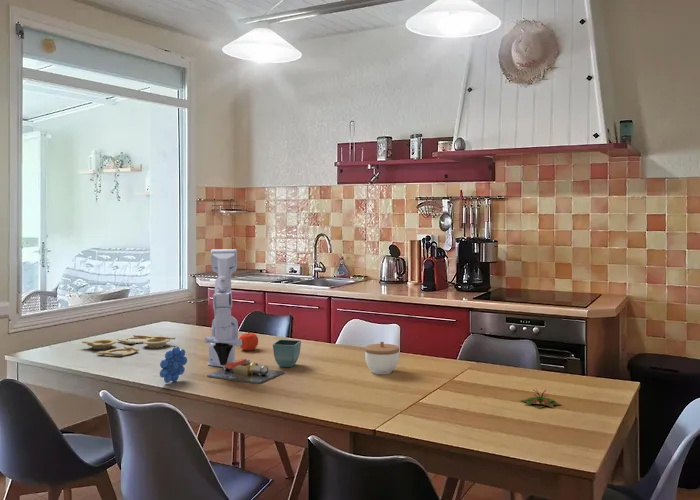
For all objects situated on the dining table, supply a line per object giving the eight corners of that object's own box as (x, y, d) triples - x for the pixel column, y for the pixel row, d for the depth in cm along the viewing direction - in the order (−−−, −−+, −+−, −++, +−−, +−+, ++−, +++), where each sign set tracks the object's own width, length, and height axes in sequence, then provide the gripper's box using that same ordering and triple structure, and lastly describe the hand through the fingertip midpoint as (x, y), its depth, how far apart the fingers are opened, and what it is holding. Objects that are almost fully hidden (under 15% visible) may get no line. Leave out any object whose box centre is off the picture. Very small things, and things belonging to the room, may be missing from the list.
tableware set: (142, 337, 292) (142, 328, 292) (183, 345, 275) (183, 336, 275) (71, 351, 264) (71, 341, 264) (112, 360, 247) (112, 350, 247)
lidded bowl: (404, 369, 230) (404, 340, 229) (391, 378, 219) (392, 346, 218) (372, 366, 235) (372, 337, 235) (359, 374, 224) (359, 343, 223)
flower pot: (295, 369, 232) (294, 345, 231) (272, 367, 233) (272, 344, 233) (301, 363, 240) (301, 340, 240) (279, 362, 242) (279, 339, 241)
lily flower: (538, 413, 182) (538, 397, 182) (511, 401, 193) (511, 387, 193) (569, 407, 187) (570, 392, 187) (542, 396, 198) (542, 382, 198)
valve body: (207, 376, 221) (206, 364, 221) (234, 366, 235) (234, 355, 235) (259, 384, 211) (258, 371, 211) (284, 373, 226) (284, 361, 225)
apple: (262, 349, 265) (262, 330, 265) (249, 352, 258) (249, 333, 258) (248, 347, 269) (247, 328, 269) (235, 350, 263) (234, 331, 262)
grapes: (178, 376, 222) (177, 342, 221) (191, 378, 218) (191, 344, 217) (151, 383, 212) (151, 348, 211) (165, 386, 208) (164, 351, 208)
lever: (244, 362, 226) (244, 356, 226) (251, 363, 225) (251, 357, 225) (224, 369, 216) (224, 363, 216) (232, 370, 215) (232, 364, 215)
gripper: (199, 326, 219) (199, 364, 220) (233, 329, 213) (233, 369, 214) (211, 323, 225) (212, 360, 226) (245, 326, 219) (245, 364, 220)
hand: (223, 364), depth 220 cm, fingers closed
